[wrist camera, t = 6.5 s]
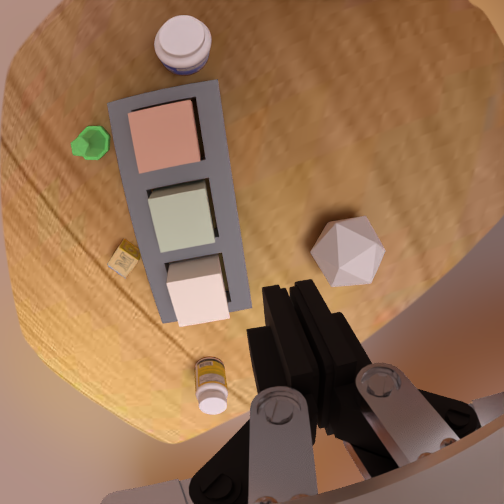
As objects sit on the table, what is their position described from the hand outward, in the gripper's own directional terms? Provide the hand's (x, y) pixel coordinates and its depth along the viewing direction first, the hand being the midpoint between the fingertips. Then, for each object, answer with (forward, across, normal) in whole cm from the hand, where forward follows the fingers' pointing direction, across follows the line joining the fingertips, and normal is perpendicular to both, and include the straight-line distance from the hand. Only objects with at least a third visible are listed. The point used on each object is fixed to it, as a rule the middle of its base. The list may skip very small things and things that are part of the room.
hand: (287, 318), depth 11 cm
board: (+29, +6, +4) cm, 30 cm away
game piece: (+29, +15, -5) cm, 33 cm away
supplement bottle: (+28, +7, +30) cm, 42 cm away
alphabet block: (+29, +14, +9) cm, 33 cm away
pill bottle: (+30, +3, -14) cm, 33 cm away
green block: (+28, +6, +4) cm, 29 cm away
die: (+29, -13, +12) cm, 34 cm away
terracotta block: (+27, +6, -5) cm, 28 cm away
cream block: (+26, +6, +13) cm, 30 cm away
